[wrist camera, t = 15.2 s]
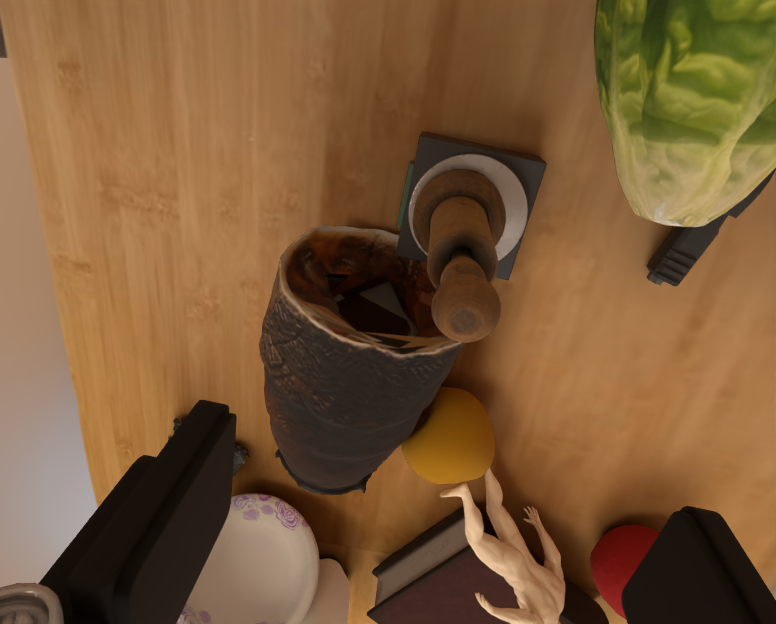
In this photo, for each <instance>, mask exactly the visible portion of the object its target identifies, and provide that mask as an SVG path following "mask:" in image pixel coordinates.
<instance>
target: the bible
mask: <svg viewBox="0 0 776 624" xmlns="http://www.w3.org/2000/svg"><path fill="white" fill-rule="evenodd" d="M481 515H482V521H483V525H484V530H483V532H484V533H486V534H489V535H492V536H494V537H496V538H497V539H498V540H499V538H498V536H497V534H496V531H495V529H494V527H493V525H492V523H491V521H490V520H489V519H488V518H487V517H485V516H484V515H483V514H481ZM529 552H530V554H531V555H532V557H533V558H534V560H535V561H536V562H537V564H539V565H541V566H543V567H544V561H542V560H541V559H540V558H539V557H537V556H536V555H535V554H533V553H532V552H531V551H529ZM372 574H373V575H374V576H376V577H377V578H378V584H377V593H376V601H375V607H373V608H372V609H371V610H369V611H368V612H367V616H369V617H370V618H371V619H373V620H374V621H375V622H377V623H378V624H511V623H509V622H506V621H504V620H501V619H499V618H497V617H496V616H494V615H491V614H490V613H489V612H488V611H487V610H486V609H485V608H483V607H482V606H481V604H480V603H479V602H478V600H477V598H476V595H475V593H477V594H478V593H479V594H480V597H481V594H482V595H483V596H484V598H485V600H487V602H489V603H490V604H491V605H492V606H493V607H496V608H513V609H521V608H520V606H519V604H518V602H517V596H516V595H515V593H514V588H513V587H512V586H511V585H510V584H509V583H508V582H507V581H506V580H505V578H504V577H503V576H501V575H499V574H498V573H496V572H495V571H493V570H492V569H491V568H489V567H488V566H487V565H486V564H485V563H483V562H482V561H481V560H480V559H479V558H478V556H477V555H476V554H475V552H474V550H473V548H472V547H471V546H470V544H469V543H468V541H467V537H466V534H465V514H464V507H462V508H461V509H459V510H458V511H457V512H455V513H454V514H452V515H451V516H449V517H448V518H446V519H445V520H443V521H442V522H441V523H439V524H438V525H436V526H435V527H433V528H432V529H430V530H429V531H428V532H426V533H425V534H423V535H422V536H420V537H419V538H417V539H416V540H415V541H413V542H412V543H410V544H409V545H407V546H406V547H404V548H403V549H401V550H400V551H399V552H397V553H396V554H394V555H393V556H391V557H390V558H388V559H387V560H386V561H384V562H383V563H382V564H380V565H379V566H377V567H376V568H375V569H374V570H373V571H372ZM563 580H564V582H565V594H564V595H565V599H564V607H563V610H562V612H561V613H560V615H559V620H558V621H559V622H560V623H561V624H609V621H608V619H607V617H606V615H605V612H604V611H603V610H602V608H601V607H600V605H599V604H598V603H597V602H596V601H594V600H593V599H592V598H590V597H589V596H588V595H587V594H585V593H584V592H583V591H581V590H580V589H579V588H577V587H576V586H575V585H574V584H572V583H571V582H570V581H568V580H567V579H566V578H564V579H563ZM481 600H482V599H481Z"/></svg>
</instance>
